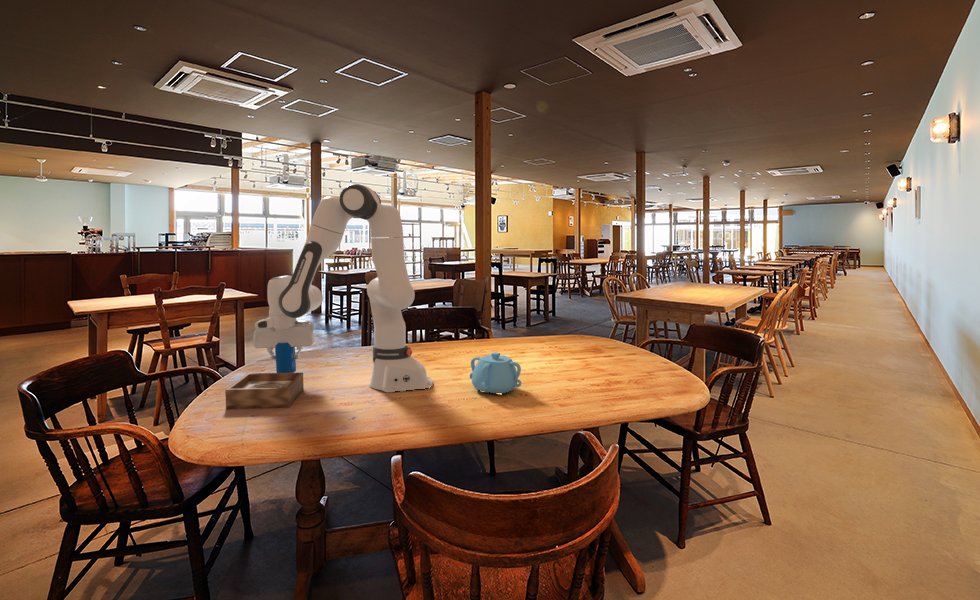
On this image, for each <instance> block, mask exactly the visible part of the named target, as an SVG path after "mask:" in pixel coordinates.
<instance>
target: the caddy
mask: <svg viewBox="0 0 980 600" xmlns="http://www.w3.org/2000/svg"><path fill="white" fill-rule="evenodd" d="M304 388H305V387H304V372H294V373H277V372H263V373H261V372H259V373H258V372H257V373H255V372H254V373H246V374H245V375H243V376H242V377H240V378H239V379H238V380H237V381H235V382H234V383H232V384H231V385H230V386H229V387H227V388H225V390H224V392H225V410H242V409H244V408H249V409H279V408H280V409H281V408H282V407H283V408H284V407H287V408H290V407H291V405H292V404H293V403H295V401H296V400H297V398H298V397H299V396H300V394H301V393H302V392H303V391H304ZM238 408H240V409H238ZM241 408H242V409H241ZM244 410H245V409H244Z"/></svg>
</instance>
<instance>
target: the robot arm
mask: <svg viewBox="0 0 980 600" xmlns="http://www.w3.org/2000/svg"><path fill="white" fill-rule="evenodd" d="M351 219H361V220H365V221H367V223H368V224H369V227H370V243H371V245H370V247H371V248H370V249H371V260H372V263H373V265H374V268H375V271H376V275H377V276H376V277H375V278H373V279H372V280H370V281H369V283H368V284H367V287H366V292H367V293H366V294H367V296H368V298H369V303H370V309H371V316H372V321H373V347H372V362H373V366H372V375H371V378H370V382H369V387H370V388H371V389H375V390H379V391H382V392H383V393H396V392H395V391H400V392H407V391H406V390H413V391H415V390H414V389H424V388H429V387H430V386H432V387H433V385H434V383H433V382H434V381H433V379H432V378H431V377H430V376H429V375H427V370H426V367H425V366H424V363H423V364H422V363H421V362H420V361H419V360H417V359H416V358H414V357H413V356H412V354H413V350H412V348H411V346H408V345H407V344H406V343H407V342H406V339H407V338H406V334H407V333H406V330H407V329H406V328H407V327H406V322H405V320H404V317H403V313H402V310H406V309H408V308H409V307H410V306H412V304H413V302H414V300H415V295H416V294H415V293H416V292H415V290H414V287H413V286H412V284H411V281H410V277H409V273H408V269H407V264H406V260H405V247H404V245H405V244H404V230H403V222H402V218H401V213H400V211H399V210H398V209H397V208H396V207H395V206H393V205H390V204H382V201H381V198H380V196H379V195H378V193H377V192H376V191H375V190H373V189H372V188H370V187H369V186H367V185H364V184H363V185H362V184H360V183H351V184H349V185H346V186H345V187H344V188H343V189H342V190H341V192H340V193H339V197H337V196H333V195H332V196H330V195H329V196H325V197H323V198H322V199H321V200H320V202H319V204H318V206H317V208H316V210H315V212H314V214H313V217H312V220H311V223H310V227H309V230H308V233H307V236H306V239H305V243H304V245H303V248H302V250H301V252H300V256H299V257H298V260H297V263H296V266H295V268H294V270H293V272H292V273H293V274H292V275H281V276H276V277H272V278H270V280H268V283H267V291H266V292H267V295H266V296H267V303H268V307H269V309H268V310H269V311H268V317H265V318H262V319H260V320H258V321H255V323H254V328H255V330H254V331H253V336H252V346H253V347H254V348H255V349H266V351H267V353H268V354H269V355H270V358H271V361H276V355H275V351H273V350H274V349H275V347H276V345H277V344H278V343H277V342H288V343H289V344H290V346H291V347H295V348H296V350H297V352H295V354H294V359H295V360H300V359H301V358H300V357H301V355H300V353H301V352H302V350H303V347H312V346H313V345H314V344H315V335H314V330H315V325H314V323H313V322H312V321H310V320H297V319H299V318H302V317H303V316H305V315H306V314H309V313H310V312H312V311H315V310H317V309H318V308H320V307H321V305H322V304H323V300H324V299H323V298H324V297H323V296H324V295H323V293H322V290H321V289H320V288H319V287H318V286H316V285H313V284H312V283H313V280H314V277H315V275H316V272H317V270H318V268H319V266H320V265H321V263H323V261H324V260H326V258H328V257H330V256H331V255H332V254H334V253H335V252H336V251H337V250H338V248H339V247H340V245H341V243H342V241H343V236H344V234H345V231H346V227H347V224H348V222H349V221H350V220H351ZM432 384H433V385H432ZM429 389H430V388H429Z"/></svg>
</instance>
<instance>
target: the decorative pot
mask: <svg viewBox="0 0 980 600" xmlns="http://www.w3.org/2000/svg"><path fill="white" fill-rule="evenodd" d="M475 361H477V363H476V362H475ZM475 363H476V364H475ZM470 367H471V373H470V374H469V379H471V384H472V386H473V387H474V389H475V390H477V391H479V390H481V391H485V392H484V393H489V392H490V393H489V394H491V393H492V394H495V393H503V394H506V392H507V393H510V392H511V391H513V390H514V389H515V388H520V387H521V386H522V381H521V379H519V377H520V374H521V372H522V366H521V365H520V364H519V363H518V362H516V361H514V360H513V359H512V358H511V357H508V356H506V355H501V353H500V352H497V351H496V352H490V354H488V355H484V356H482V357H480V356H475V357H473V358H472V359H471V360H470ZM509 391H510V392H509Z"/></svg>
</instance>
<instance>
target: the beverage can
mask: <svg viewBox="0 0 980 600" xmlns="http://www.w3.org/2000/svg"><path fill="white" fill-rule="evenodd" d="M277 343H278V344H277V345H276V347H275V348H274V350H275V351H274V354H275V355H276V360H275V368H276V369H275V370H276V372H275V373H296V371H297V364H296V361H297V359H294V354H295V353H296V347H291V346H290V344H289V343H288V342H277Z"/></svg>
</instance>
